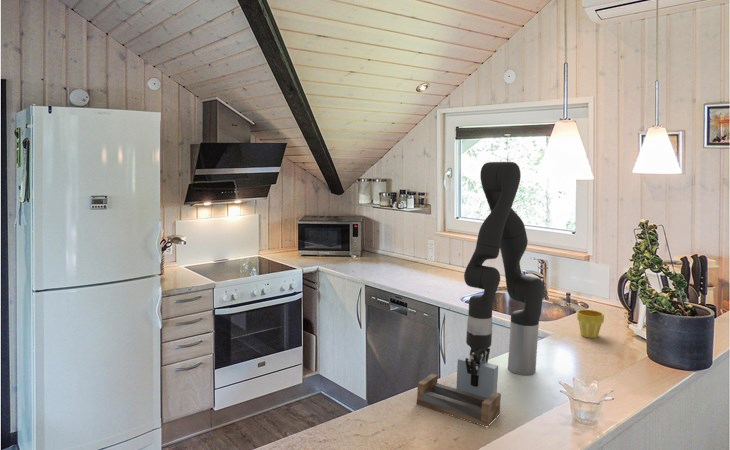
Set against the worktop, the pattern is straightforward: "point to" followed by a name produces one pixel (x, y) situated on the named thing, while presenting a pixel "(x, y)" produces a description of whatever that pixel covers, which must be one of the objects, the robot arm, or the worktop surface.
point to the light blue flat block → (485, 379)
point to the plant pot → (590, 322)
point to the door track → (486, 404)
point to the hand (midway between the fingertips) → (476, 383)
